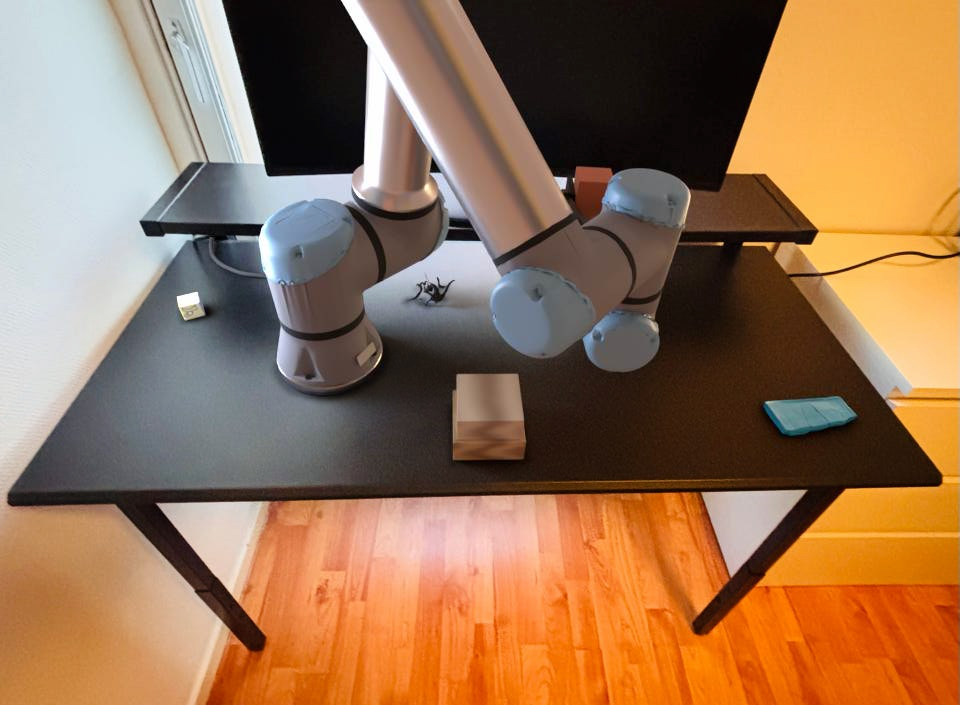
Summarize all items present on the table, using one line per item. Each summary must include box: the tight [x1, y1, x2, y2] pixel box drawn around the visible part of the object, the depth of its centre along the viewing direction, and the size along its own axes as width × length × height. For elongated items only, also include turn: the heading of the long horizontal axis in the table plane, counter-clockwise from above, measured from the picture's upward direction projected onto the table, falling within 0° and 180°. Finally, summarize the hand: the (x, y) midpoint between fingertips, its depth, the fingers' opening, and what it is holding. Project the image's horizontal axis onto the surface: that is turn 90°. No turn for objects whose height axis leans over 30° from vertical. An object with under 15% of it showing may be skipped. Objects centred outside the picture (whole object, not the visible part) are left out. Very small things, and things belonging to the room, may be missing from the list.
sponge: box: [763, 396, 858, 437], centre depth 74 cm, size 2×12×6 cm
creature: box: [406, 273, 456, 307], centre depth 91 cm, size 8×5×8 cm
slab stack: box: [452, 373, 527, 461], centre depth 69 cm, size 9×9×7 cm
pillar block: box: [573, 166, 614, 220], centre depth 79 cm, size 5×5×10 cm
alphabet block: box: [176, 291, 206, 321], centre depth 86 cm, size 3×3×3 cm
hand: (587, 185), depth 82 cm, fingers closed on pillar block, 5 cm apart
